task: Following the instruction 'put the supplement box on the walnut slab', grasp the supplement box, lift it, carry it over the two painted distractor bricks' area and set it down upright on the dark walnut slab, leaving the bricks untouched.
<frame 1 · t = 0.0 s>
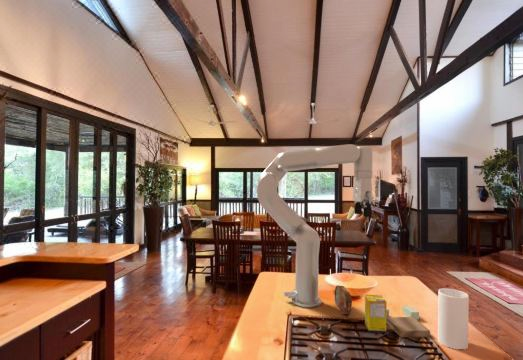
hand: (362, 215, 130), 37 cm above the worktop, tool pointing down, fingers open, 9 cm apart
slate brick: (379, 317, 115), on the worktop
sage brick: (410, 316, 116), on the worktop
tin: (342, 310, 121), on the worktop
supplement box: (375, 329, 106), on the worktop
walnut slab: (407, 329, 105), on the worktop
cup: (452, 343, 97), on the worktop
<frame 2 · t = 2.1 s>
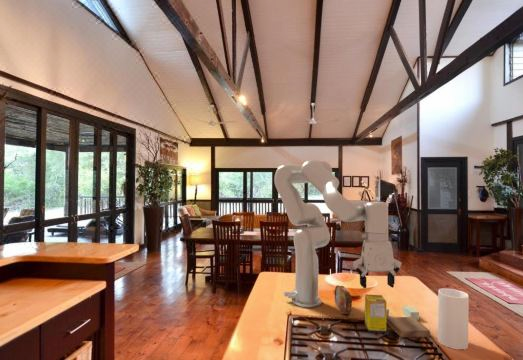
hand: (377, 286, 105), 15 cm above the worktop, tool pointing down, fingers open, 9 cm apart
nothing on the worktop moved.
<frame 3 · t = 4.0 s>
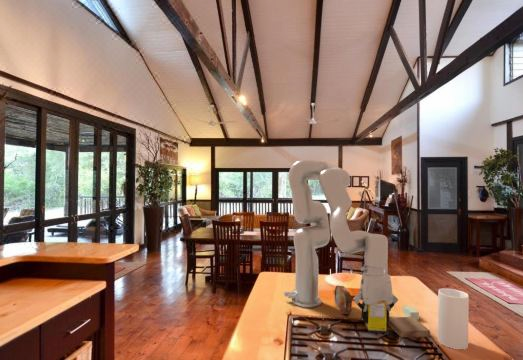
hand: (375, 320, 106), 3 cm above the worktop, tool pointing down, fingers closed on supplement box, 6 cm apart
supplement box: (375, 329, 106), on the worktop, touching gripper
everything else where it was.
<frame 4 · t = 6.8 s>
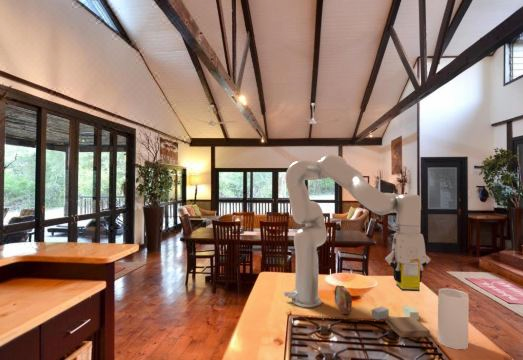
hand: (407, 280, 105), 17 cm above the worktop, tool pointing down, fingers closed on supplement box, 6 cm apart
supplement box: (407, 289, 105), point 14 cm above the worktop, touching gripper
everything else where it was.
when the fingers open (6 cm above the worktop, at t = 9.6 s): supplement box drops 1 cm, resting on walnut slab.
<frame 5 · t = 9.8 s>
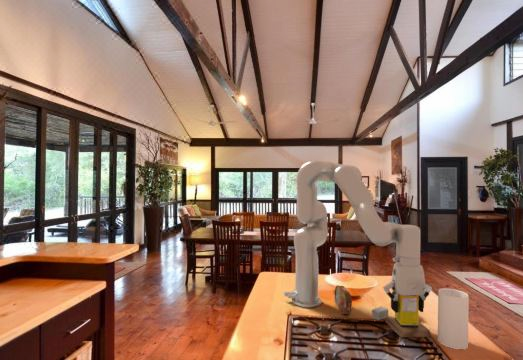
hand: (407, 310, 105), 7 cm above the worktop, tool pointing down, fingers open, 8 cm apart
supplement box: (406, 324, 106), point 2 cm above the worktop, touching walnut slab
everything else where it was.
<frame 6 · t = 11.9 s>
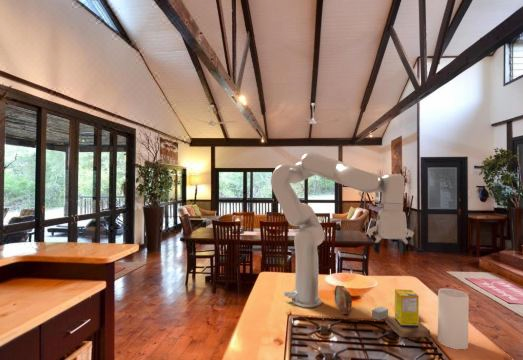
hand: (389, 253, 113), 25 cm above the worktop, tool pointing down, fingers open, 9 cm apart
nothing on the worktop moved.
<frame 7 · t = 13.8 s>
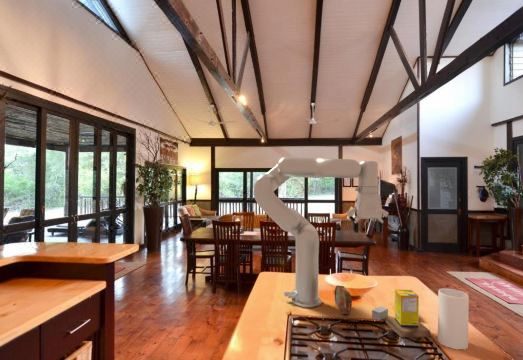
hand: (367, 232, 125), 30 cm above the worktop, tool pointing down, fingers open, 9 cm apart
nothing on the worktop moved.
at the end: supplement box inside the target area on the walnut slab (0.3 cm from its centre), point 1.8 cm above the walnut slab's base; supplement box touching walnut slab; supplement box tilted 0° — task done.
